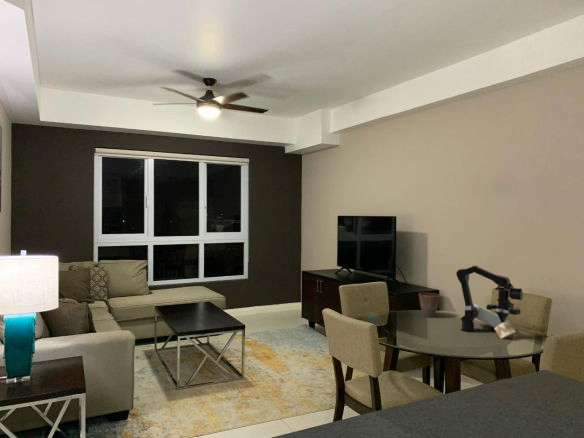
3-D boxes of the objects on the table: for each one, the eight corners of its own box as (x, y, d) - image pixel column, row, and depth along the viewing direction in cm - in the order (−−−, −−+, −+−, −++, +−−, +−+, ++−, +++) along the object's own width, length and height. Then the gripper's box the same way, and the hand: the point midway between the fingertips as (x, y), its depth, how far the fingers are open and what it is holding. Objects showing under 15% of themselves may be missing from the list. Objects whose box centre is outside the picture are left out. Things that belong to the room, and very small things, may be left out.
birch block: (493, 328, 274) (502, 322, 269) (500, 326, 278) (508, 321, 273) (500, 338, 270) (509, 333, 265) (507, 337, 274) (515, 331, 269)
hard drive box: (510, 321, 284) (480, 307, 286) (505, 332, 284) (475, 318, 286) (501, 316, 299) (473, 303, 301) (496, 326, 300) (468, 313, 302)
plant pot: (425, 313, 334) (425, 291, 334) (443, 317, 323) (444, 294, 323) (414, 316, 324) (414, 293, 324) (432, 320, 313) (433, 297, 313)
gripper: (525, 299, 269) (525, 325, 270) (496, 294, 285) (495, 318, 285) (515, 300, 263) (515, 327, 263) (486, 295, 278) (485, 320, 279)
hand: (502, 323), depth 273 cm, fingers closed
